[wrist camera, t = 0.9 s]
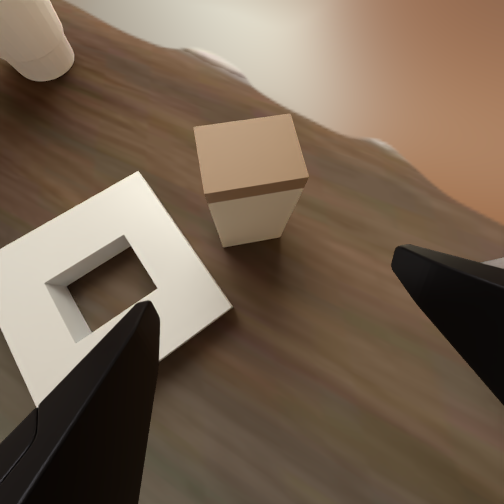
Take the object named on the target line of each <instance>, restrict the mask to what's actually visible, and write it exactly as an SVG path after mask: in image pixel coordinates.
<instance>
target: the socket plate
mask: <svg viewBox="0 0 504 504" xmlns="http://www.w3.org/2000/svg"><path fill="white" fill-rule="evenodd" d="M130 246H131V247H132V248H133V250H134V251H135V253H136V255H137V256H138V258H139V259H140V261H141V262H142V264H143V266H144V267H145V269H146V270H147V272H148V274H149V275H150V277H151V278H152V280H153V282H154V283H155V285H156V286H157V288H158V289H156V290H155V291H153V292H152V293H150V294H149V295H147V296H146V297H144V298H143V299H141V300H140V301H138V302H142V301H146V300H150V301H151V302H152V303H153V305H154V307H155V309H156V311H157V313H158V315H159V317H160V347H159V362H160V361H161V360H163V359H164V358H165V357H167V356H168V355H170V354H171V353H172V352H174V351H175V350H176V349H178V348H179V347H180V346H182V345H183V344H184V343H186V342H187V341H188V340H190V339H191V338H193V337H194V336H195V335H197V334H198V333H199V332H201V331H202V330H203V329H205V328H206V327H207V326H209V325H210V324H211V323H213V322H214V321H215V320H217V319H218V318H220V317H221V316H222V315H224V314H225V313H226V312H228V311H229V310H230V309H232V308H233V306H232V304H231V303H230V301H229V300H228V298H227V297H226V296H225V294H224V293H223V291H222V290H221V288H220V287H219V285H218V284H217V283H216V281H215V280H214V278H213V277H212V275H211V274H210V272H209V271H208V270H207V268H206V267H205V265H204V264H203V262H202V261H201V259H200V258H199V257H198V255H197V254H196V252H195V251H194V249H193V248H192V247H191V245H190V244H189V242H188V241H187V239H186V238H185V236H184V235H183V234H182V232H181V231H180V229H179V228H178V226H177V225H176V223H175V222H174V221H173V219H172V218H171V216H170V215H169V213H168V212H167V210H166V209H165V208H164V206H163V205H162V203H161V202H160V200H159V199H158V197H157V196H156V195H155V193H154V192H153V190H152V189H151V187H150V186H149V184H148V183H147V182H146V181H145V179H144V178H143V177H142V175H141V174H140V173H139V171H137V172H136V173H134V174H132V175H130V176H129V177H127V178H125V179H123V180H121V181H120V182H118V183H116V184H114V185H113V186H111V187H109V188H107V189H106V190H104V191H102V192H100V193H99V194H97V195H95V196H93V197H91V198H90V199H88V200H86V201H84V202H83V203H81V204H79V205H77V206H76V207H74V208H72V209H70V210H69V211H67V212H65V213H63V214H61V215H60V216H58V217H56V218H54V219H53V220H51V221H49V222H47V223H46V224H44V225H42V226H40V227H39V228H37V229H35V230H33V231H31V232H30V233H28V234H26V235H24V236H23V237H21V238H19V239H17V240H16V241H14V242H12V243H10V244H9V245H7V246H5V247H3V248H1V249H0V328H1V330H2V332H3V334H4V337H5V339H6V341H7V343H8V345H9V348H10V350H11V352H12V354H13V356H14V359H15V361H16V363H17V365H18V367H19V370H20V372H21V374H22V376H23V378H24V381H25V383H26V385H27V387H28V389H29V392H30V394H31V396H32V398H33V401H34V403H35V405H36V407H38V405H39V404H40V403H41V402H42V400H43V399H44V398H45V397H46V396H47V395H48V394H49V393H50V392H51V391H52V390H53V389H54V388H55V387H56V386H57V385H58V384H59V383H60V382H61V381H62V380H63V379H64V378H65V377H66V376H67V375H68V374H69V373H70V372H71V370H72V369H73V368H74V367H75V366H76V365H77V364H78V363H79V362H80V361H81V360H82V359H83V358H84V357H85V356H86V355H87V354H88V353H89V352H90V351H91V350H92V349H93V348H94V347H95V346H96V345H97V344H98V343H99V341H100V340H101V339H102V338H103V337H104V336H105V335H106V334H107V333H108V332H109V331H110V330H111V329H112V328H113V327H114V326H115V325H116V324H117V323H118V322H119V321H120V320H121V319H122V318H123V317H124V316H125V315H126V314H127V312H128V311H129V310H130V309H131V308H132V307H133V306H134V305H135V304H136V303H135V304H134V305H132V306H131V307H130V308H128V309H127V310H125V311H124V312H122V313H121V314H119V315H118V316H116V317H115V318H113V319H112V320H110V321H109V322H107V323H106V324H104V325H103V326H101V327H100V328H98V329H97V330H96V331H94V332H93V333H92V332H91V331H90V329H89V327H88V325H87V323H86V321H85V320H84V318H83V316H82V314H81V312H80V310H79V308H78V307H77V305H76V303H75V301H74V299H73V297H72V295H71V294H70V292H69V290H68V288H67V286H68V285H69V284H71V283H73V282H74V281H76V280H77V279H79V278H81V277H82V276H84V275H85V274H87V273H89V272H90V271H92V270H93V269H95V268H97V267H98V266H100V265H101V264H103V263H105V262H106V261H108V260H109V259H111V258H113V257H114V256H116V255H117V254H119V253H121V252H122V251H124V250H125V249H127V248H129V247H130ZM138 302H137V303H138Z"/></svg>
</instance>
